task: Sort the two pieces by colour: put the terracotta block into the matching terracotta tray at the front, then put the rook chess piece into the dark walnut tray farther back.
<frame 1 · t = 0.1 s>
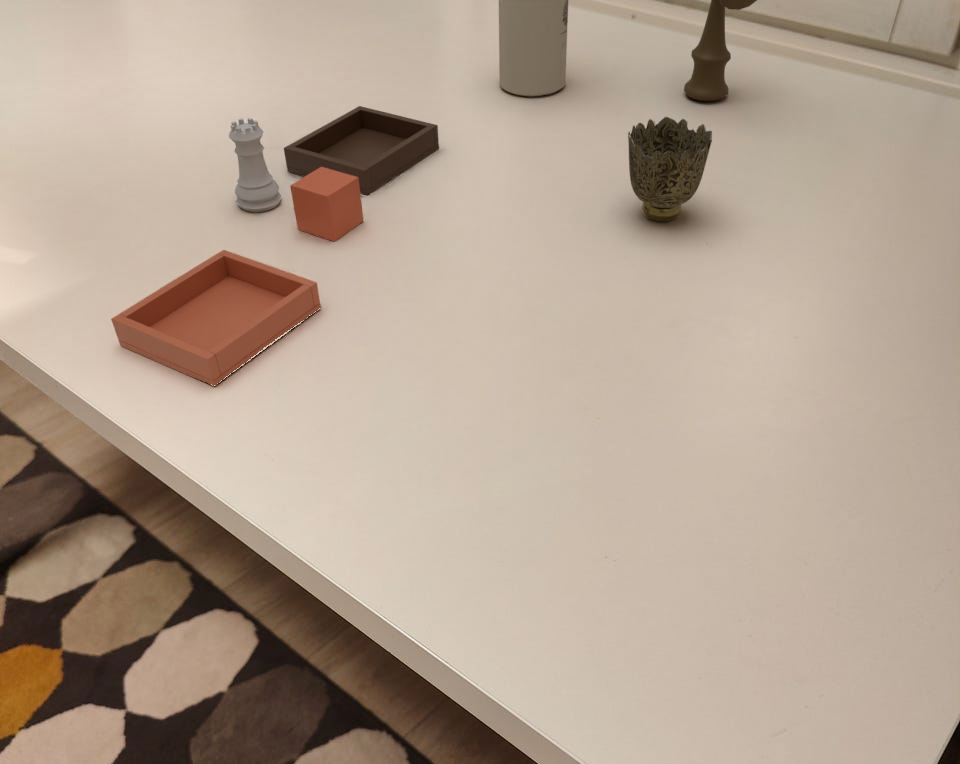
terracotta block: (330, 225, 90), on the table
kendama: (705, 97, 111), on the table
terracotta tray: (222, 327, 78), on the table
cup: (660, 217, 90), on the table
travel mug: (532, 87, 115), on the table
walnut tray: (364, 160, 101), on the table
rook chess piece: (260, 204, 94), on the table
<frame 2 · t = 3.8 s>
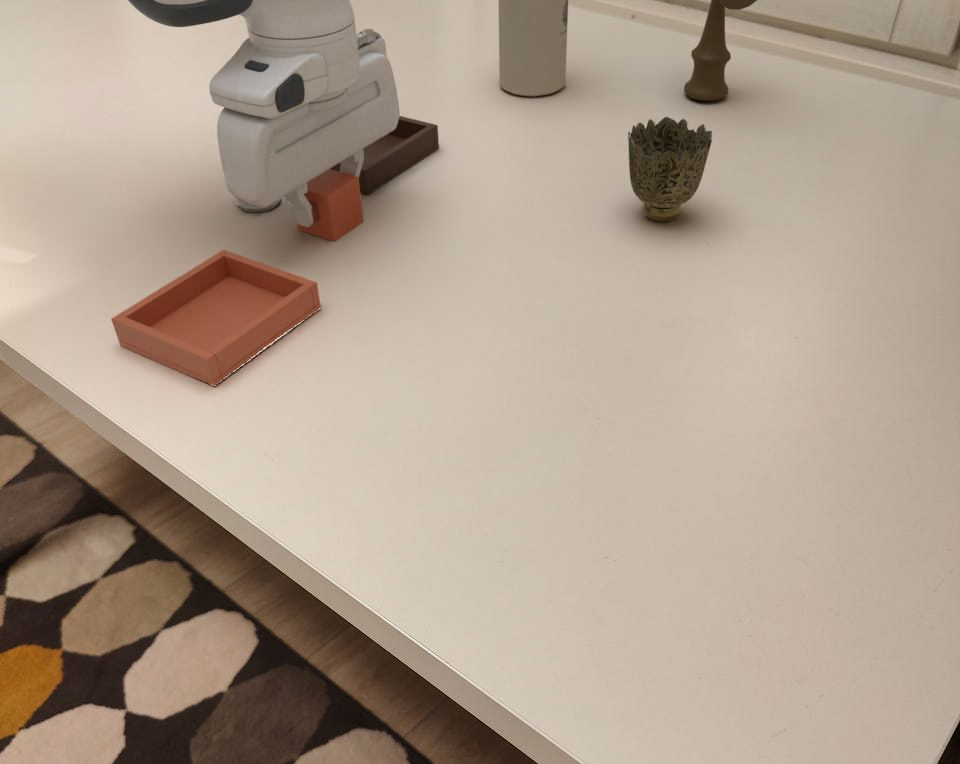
hand: (328, 210, 89), 2 cm above the table, tool pointing down, fingers closed on terracotta block, 4 cm apart
terracotta block: (331, 225, 90), on the table, touching gripper
everything else where it was.
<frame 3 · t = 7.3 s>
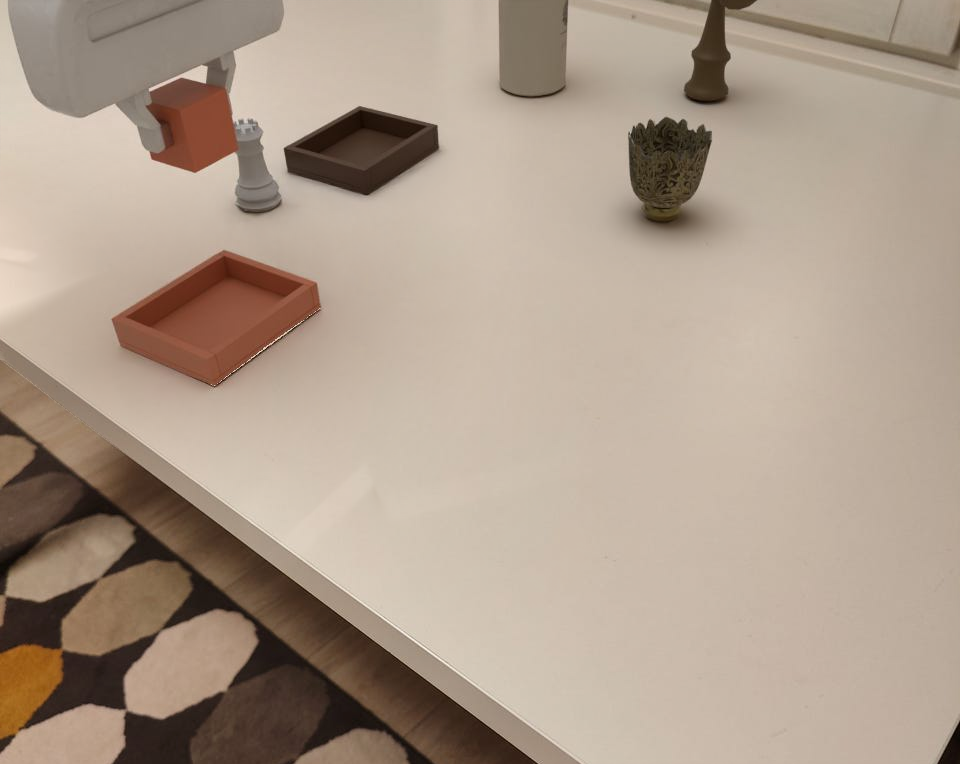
hand: (189, 133, 68), 16 cm above the table, tool pointing down, fingers closed on terracotta block, 4 cm apart
terracotta block: (195, 154, 69), point 14 cm above the table, touching gripper
everything else where it was.
when the fingers open (2 cm above the table, at t = 10.8 s): terracotta block stays where it is, resting on terracotta tray.
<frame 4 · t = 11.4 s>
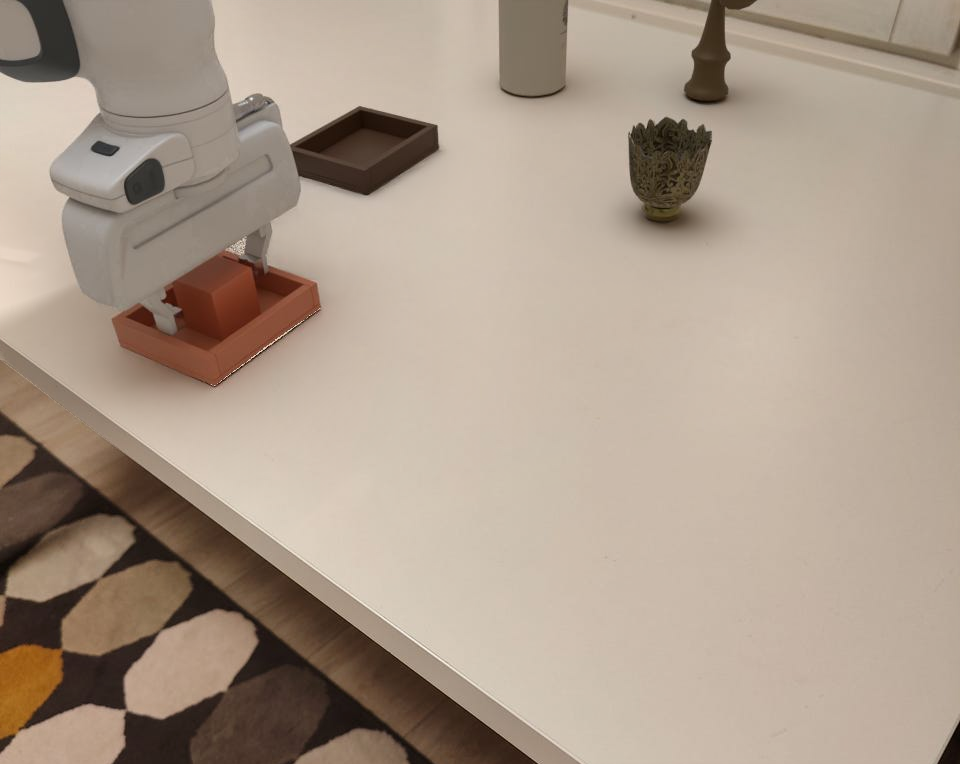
hand: (215, 301, 76), 2 cm above the table, tool pointing down, fingers open, 8 cm apart
terracotta block: (223, 320, 78), point 1 cm above the table, touching terracotta tray
everything else where it was.
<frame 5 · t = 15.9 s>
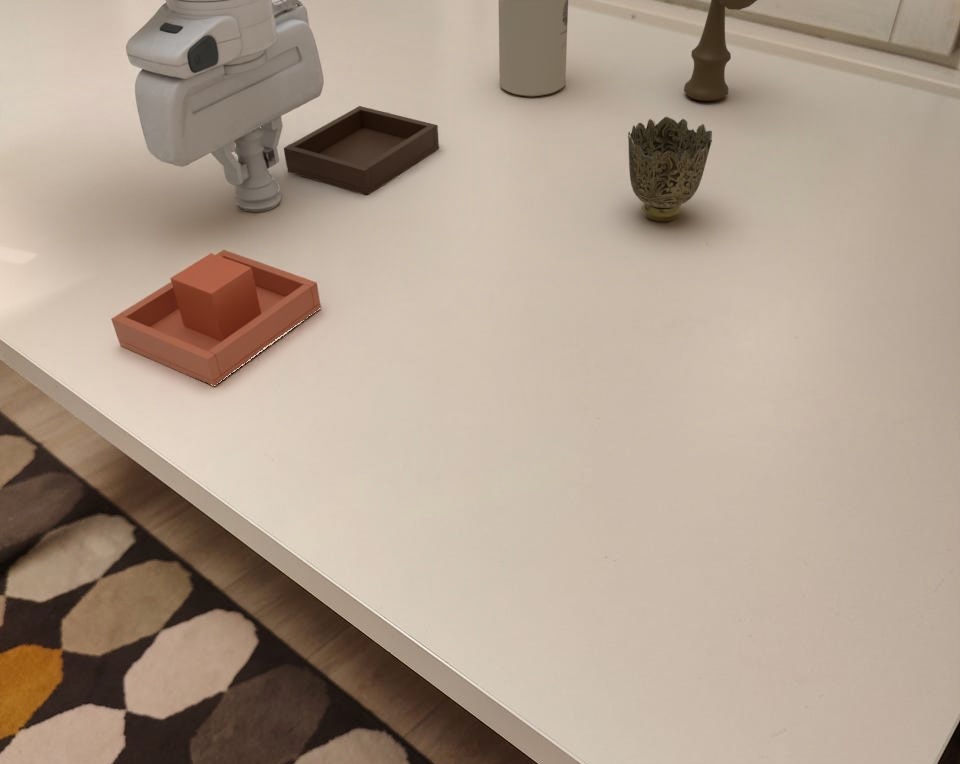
hand: (253, 173, 92), 3 cm above the table, tool pointing down, fingers closed on rook chess piece, 3 cm apart
rook chess piece: (260, 205, 94), on the table, touching gripper
everything else where it was.
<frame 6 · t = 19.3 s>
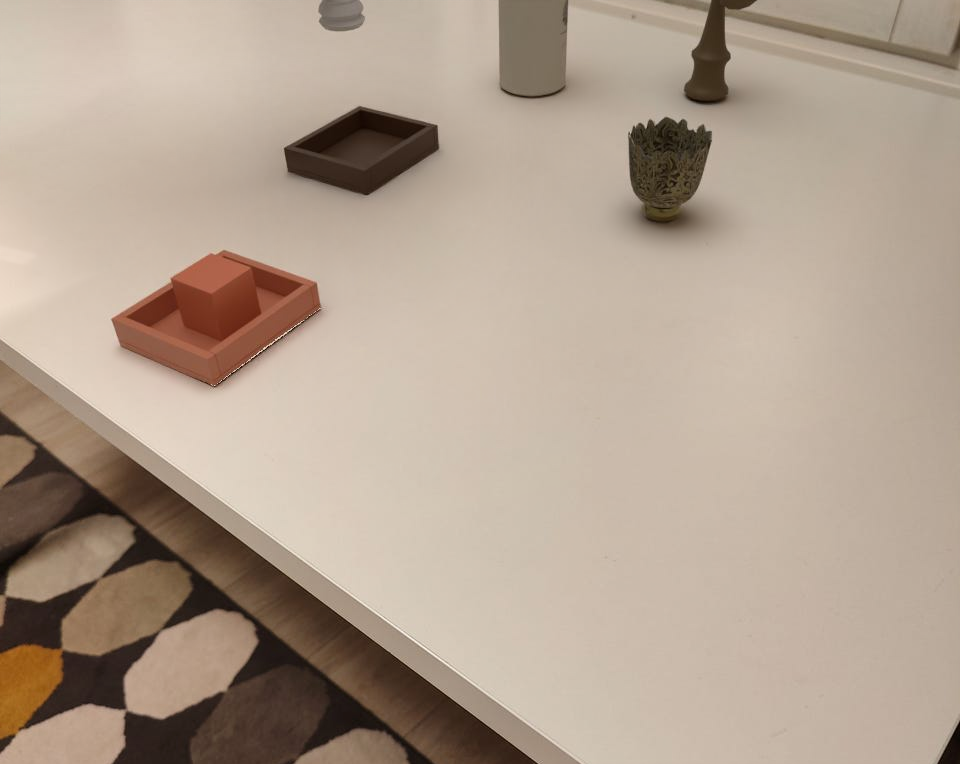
rook chess piece: (342, 26, 91), point 14 cm above the table, touching gripper
everything else where it was.
when the fingers open (4 cm above the table, at t = 22.5 s): rook chess piece stays where it is, resting on walnut tray.
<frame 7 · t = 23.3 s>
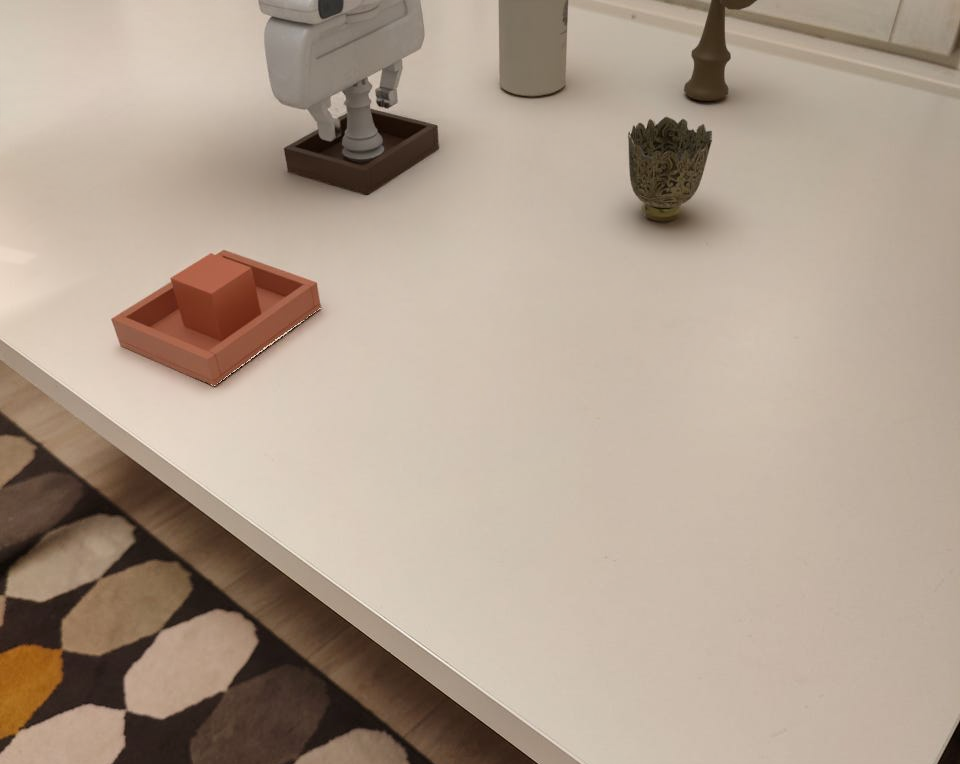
hand: (359, 121, 98), 4 cm above the table, tool pointing down, fingers open, 8 cm apart
rook chess piece: (363, 156, 100), resting on walnut tray
everything else where it was.
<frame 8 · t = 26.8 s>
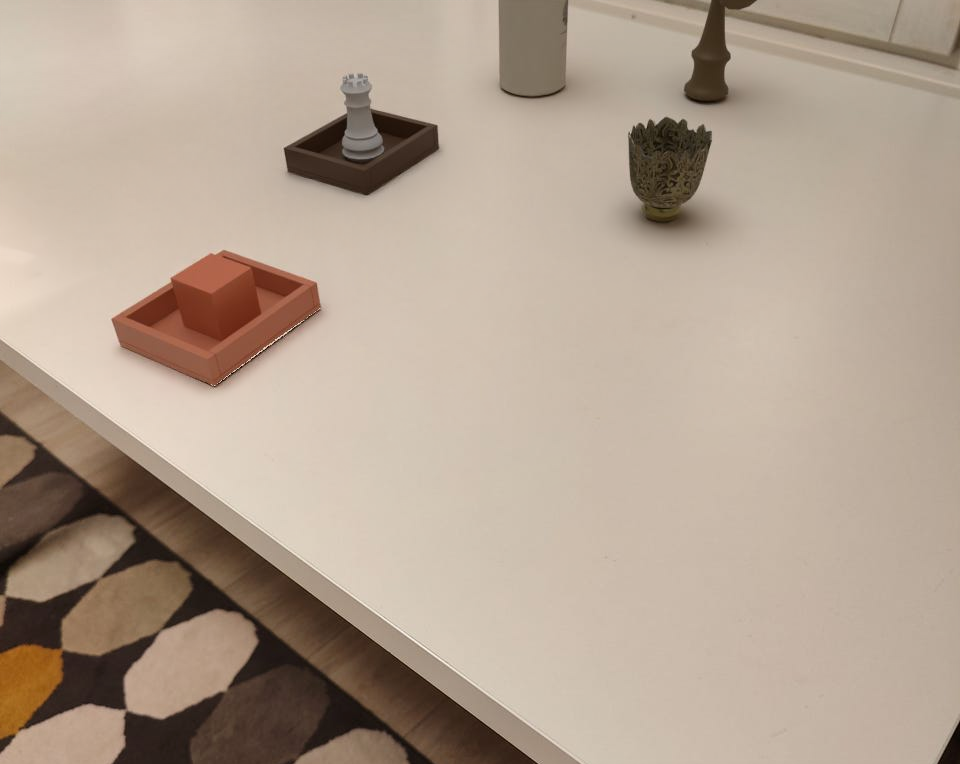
nothing on the table moved.
at the end: terracotta block inside the target area in the terracotta tray (0.1 cm from its centre), point 0.6 cm above the terracotta tray's base; rook chess piece inside the target area in the walnut tray (0.0 cm from its centre), point 0.4 cm above the walnut tray's base; rook chess piece tilted 0° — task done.
